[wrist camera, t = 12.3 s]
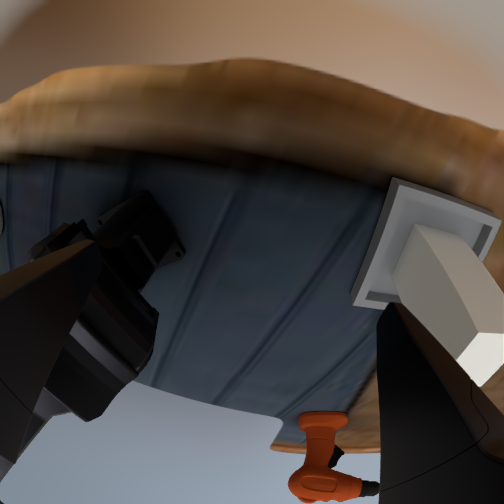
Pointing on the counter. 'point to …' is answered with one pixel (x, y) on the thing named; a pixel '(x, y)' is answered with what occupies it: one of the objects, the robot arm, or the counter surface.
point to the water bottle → (1, 220)
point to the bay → (398, 230)
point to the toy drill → (325, 463)
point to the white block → (453, 299)
